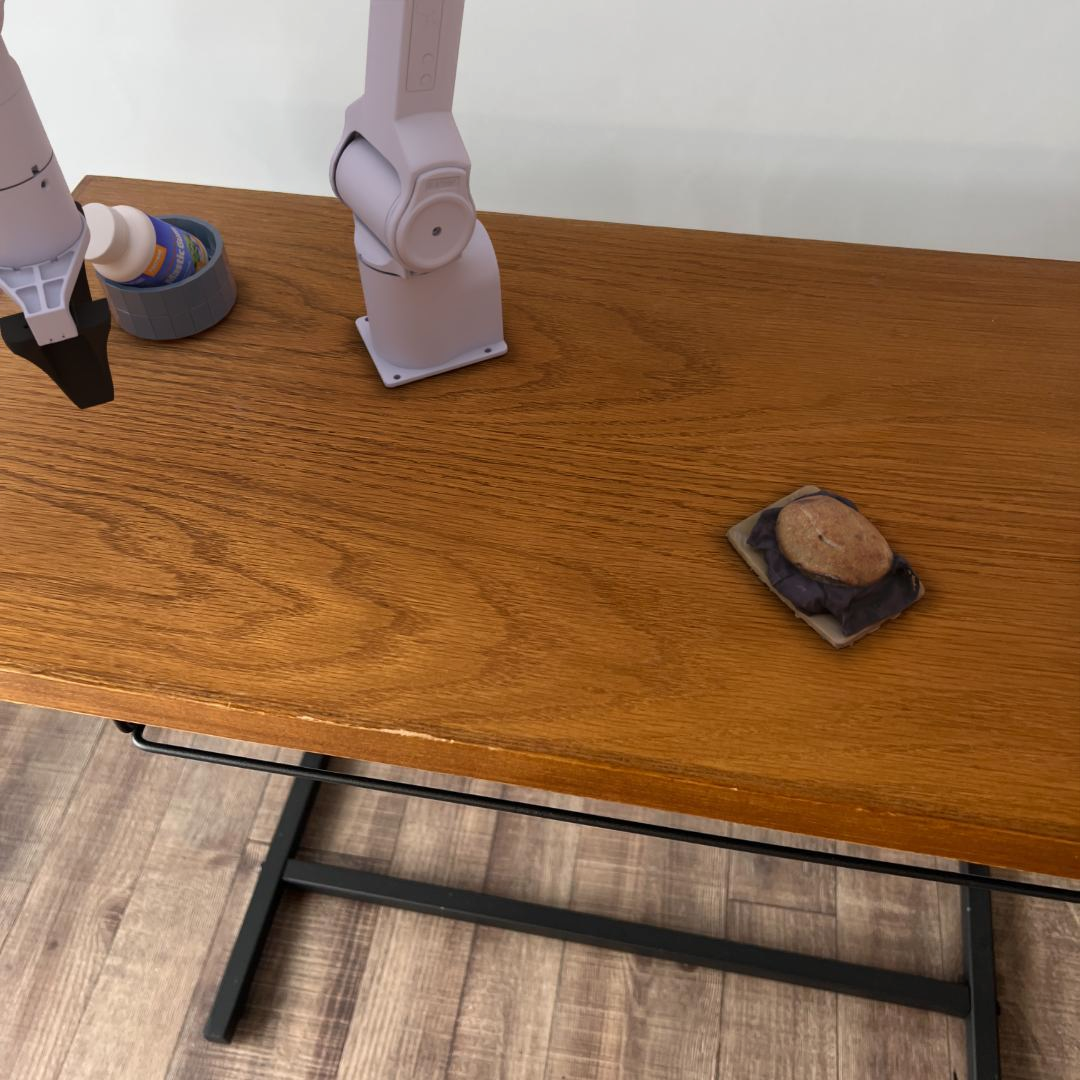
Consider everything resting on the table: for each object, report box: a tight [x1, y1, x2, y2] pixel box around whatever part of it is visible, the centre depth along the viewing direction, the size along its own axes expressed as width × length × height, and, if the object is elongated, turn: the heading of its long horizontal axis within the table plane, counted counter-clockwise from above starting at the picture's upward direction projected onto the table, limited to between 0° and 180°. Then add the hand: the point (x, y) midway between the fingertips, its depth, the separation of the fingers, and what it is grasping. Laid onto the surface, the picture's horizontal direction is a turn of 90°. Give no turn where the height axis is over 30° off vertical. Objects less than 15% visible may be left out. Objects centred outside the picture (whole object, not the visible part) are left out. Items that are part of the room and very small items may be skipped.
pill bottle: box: [82, 202, 209, 288], centre depth 79 cm, size 5×5×10 cm
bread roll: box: [725, 484, 926, 650], centre depth 66 cm, size 11×8×4 cm
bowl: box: [94, 213, 238, 341], centre depth 82 cm, size 9×9×5 cm
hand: (87, 361), depth 66 cm, fingers open, 7 cm apart
